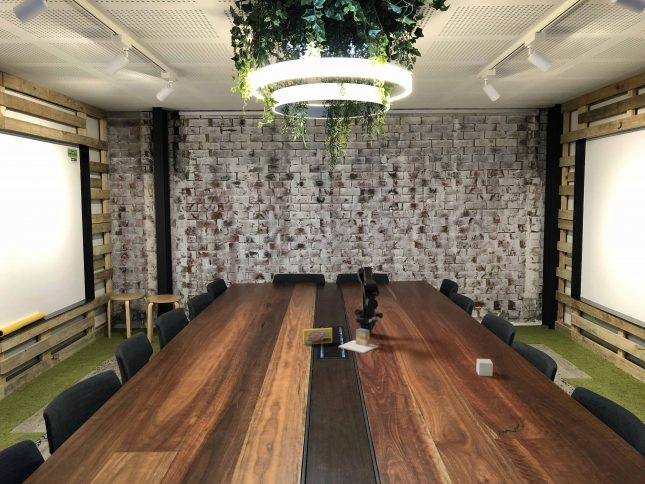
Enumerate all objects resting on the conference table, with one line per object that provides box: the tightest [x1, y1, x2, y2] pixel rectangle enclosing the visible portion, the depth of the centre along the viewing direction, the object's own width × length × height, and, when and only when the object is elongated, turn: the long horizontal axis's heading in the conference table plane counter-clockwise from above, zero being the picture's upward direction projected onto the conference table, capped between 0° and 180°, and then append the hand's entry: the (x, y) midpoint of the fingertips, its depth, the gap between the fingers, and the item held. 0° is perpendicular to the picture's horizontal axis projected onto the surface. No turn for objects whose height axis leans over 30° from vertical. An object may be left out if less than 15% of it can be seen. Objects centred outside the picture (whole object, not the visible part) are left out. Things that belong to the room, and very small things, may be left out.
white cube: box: [475, 358, 494, 377], centre depth 231 cm, size 6×6×6 cm
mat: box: [338, 339, 379, 354], centre depth 268 cm, size 14×16×1 cm
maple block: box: [355, 327, 370, 346], centre depth 271 cm, size 4×6×8 cm, turn 51°
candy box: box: [302, 327, 333, 346], centre depth 274 cm, size 16×2×8 cm, turn 105°
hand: (369, 332), depth 276 cm, fingers closed
